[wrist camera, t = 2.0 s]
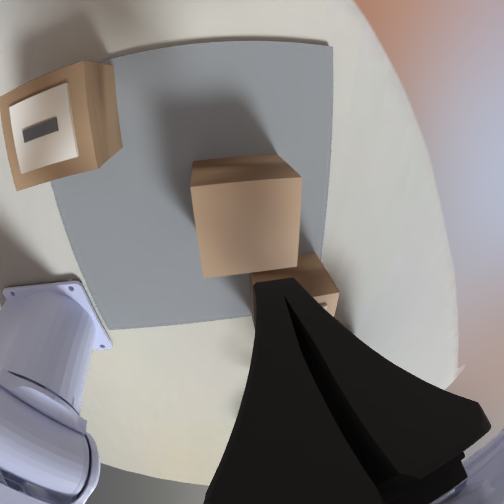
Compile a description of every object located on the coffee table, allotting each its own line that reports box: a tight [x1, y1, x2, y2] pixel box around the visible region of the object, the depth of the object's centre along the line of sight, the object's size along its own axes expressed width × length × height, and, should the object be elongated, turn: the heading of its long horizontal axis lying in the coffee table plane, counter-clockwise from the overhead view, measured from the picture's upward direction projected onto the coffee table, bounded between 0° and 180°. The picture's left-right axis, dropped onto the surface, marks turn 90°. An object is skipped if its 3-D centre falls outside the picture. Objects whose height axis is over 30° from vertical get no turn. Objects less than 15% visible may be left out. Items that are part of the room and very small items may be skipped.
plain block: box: [190, 154, 302, 278], centre depth 15 cm, size 5×5×4 cm
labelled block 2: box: [249, 253, 340, 322], centre depth 20 cm, size 5×5×5 cm
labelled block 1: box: [0, 60, 123, 191], centre depth 10 cm, size 5×5×5 cm
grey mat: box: [51, 41, 333, 330], centre depth 17 cm, size 18×20×1 cm
